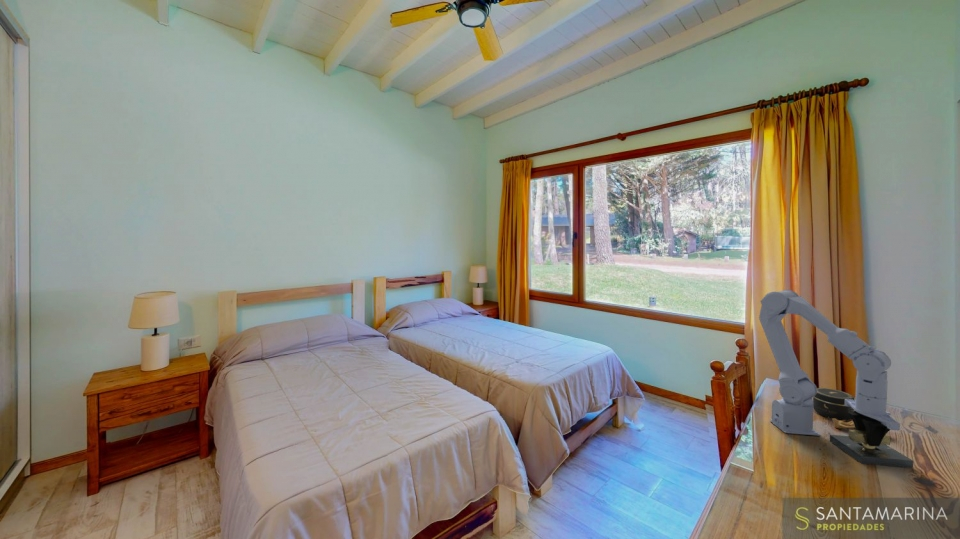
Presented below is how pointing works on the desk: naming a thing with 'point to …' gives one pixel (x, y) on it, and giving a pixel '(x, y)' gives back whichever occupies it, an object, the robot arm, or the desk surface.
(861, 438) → the t key
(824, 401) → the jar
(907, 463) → the key plate
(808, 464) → the desk surface
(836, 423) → the figurine
